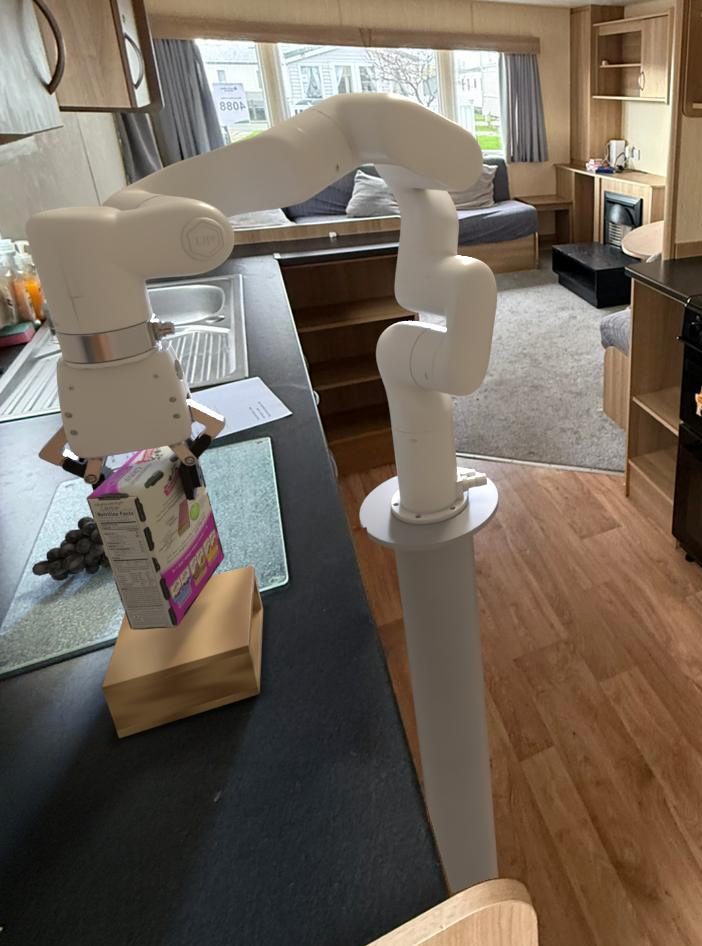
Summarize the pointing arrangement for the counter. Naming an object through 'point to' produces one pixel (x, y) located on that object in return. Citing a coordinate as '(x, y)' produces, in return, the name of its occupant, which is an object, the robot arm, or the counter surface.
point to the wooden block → (189, 658)
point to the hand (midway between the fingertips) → (154, 500)
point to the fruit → (75, 553)
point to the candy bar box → (156, 538)
